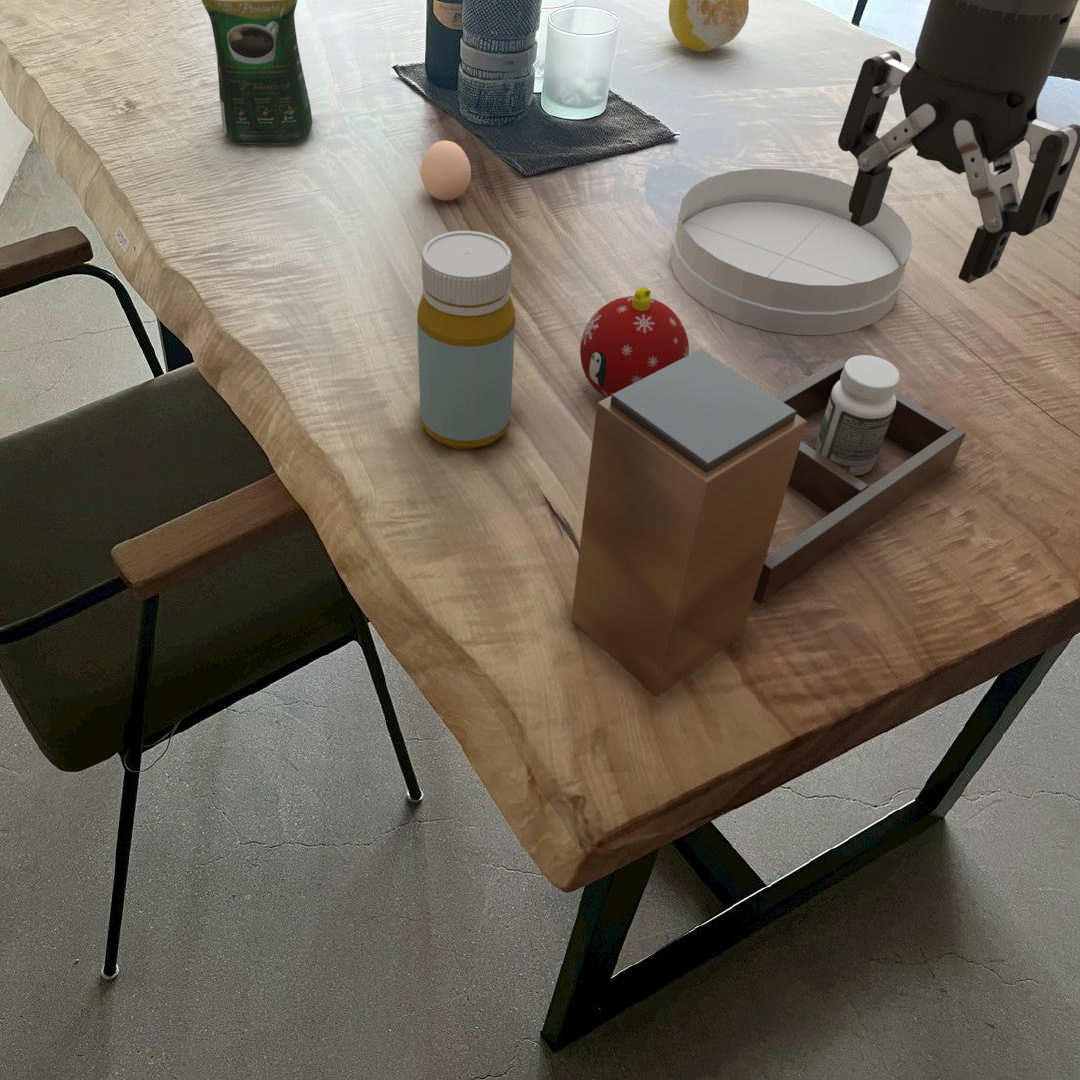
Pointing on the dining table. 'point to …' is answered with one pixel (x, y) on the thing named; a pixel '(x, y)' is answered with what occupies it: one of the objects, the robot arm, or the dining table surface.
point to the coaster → (703, 409)
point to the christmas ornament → (630, 342)
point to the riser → (673, 545)
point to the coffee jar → (259, 71)
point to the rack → (853, 479)
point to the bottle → (466, 339)
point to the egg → (445, 170)
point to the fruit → (707, 22)
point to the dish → (787, 252)
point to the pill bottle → (858, 413)
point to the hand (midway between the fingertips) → (915, 249)
